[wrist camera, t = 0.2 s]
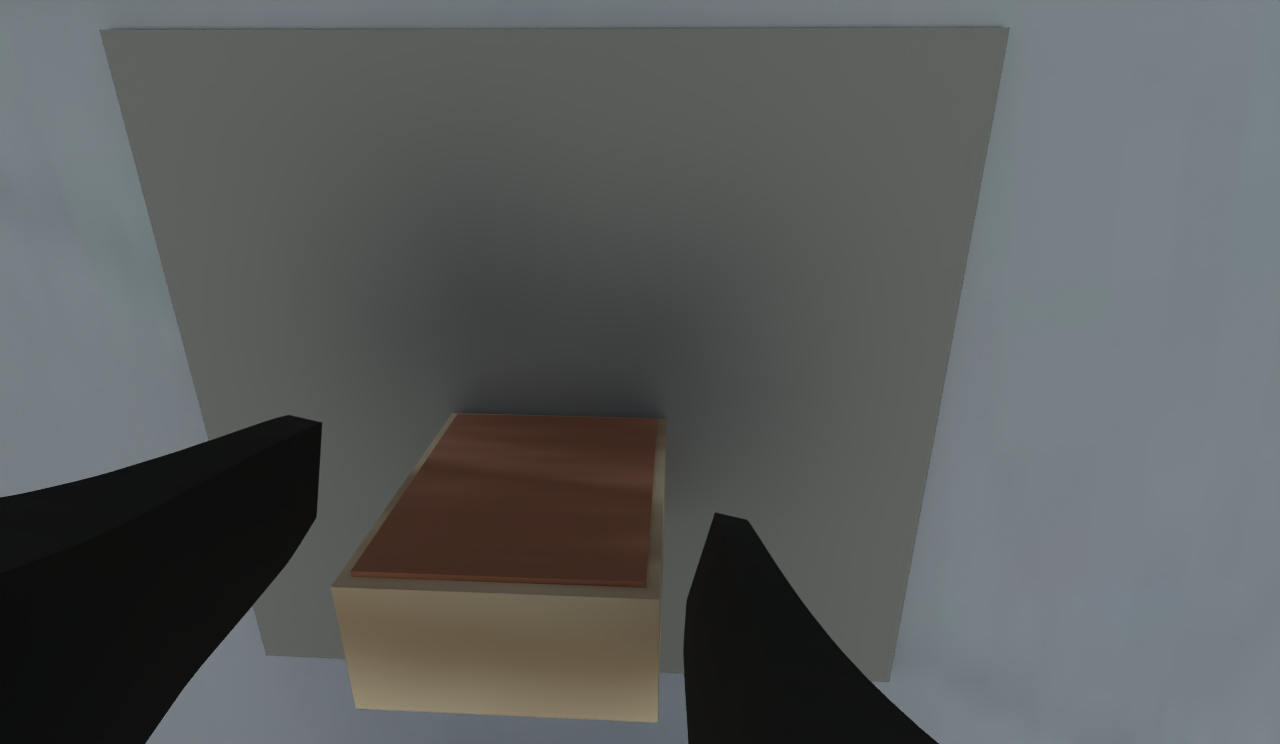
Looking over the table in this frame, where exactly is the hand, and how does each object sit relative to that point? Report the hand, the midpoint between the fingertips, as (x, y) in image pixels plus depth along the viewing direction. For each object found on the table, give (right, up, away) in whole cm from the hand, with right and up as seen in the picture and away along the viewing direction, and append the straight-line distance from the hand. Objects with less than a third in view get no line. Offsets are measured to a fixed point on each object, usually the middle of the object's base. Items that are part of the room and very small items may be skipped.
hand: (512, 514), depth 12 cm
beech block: (0, 0, +11) cm, 11 cm away
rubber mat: (0, +2, +10) cm, 10 cm away
